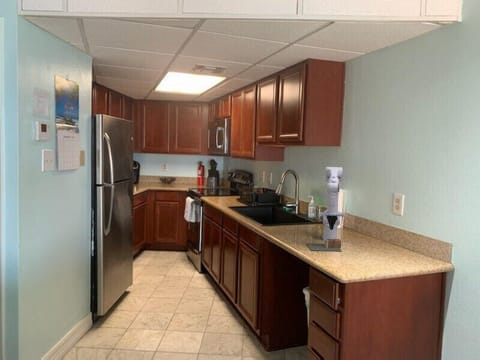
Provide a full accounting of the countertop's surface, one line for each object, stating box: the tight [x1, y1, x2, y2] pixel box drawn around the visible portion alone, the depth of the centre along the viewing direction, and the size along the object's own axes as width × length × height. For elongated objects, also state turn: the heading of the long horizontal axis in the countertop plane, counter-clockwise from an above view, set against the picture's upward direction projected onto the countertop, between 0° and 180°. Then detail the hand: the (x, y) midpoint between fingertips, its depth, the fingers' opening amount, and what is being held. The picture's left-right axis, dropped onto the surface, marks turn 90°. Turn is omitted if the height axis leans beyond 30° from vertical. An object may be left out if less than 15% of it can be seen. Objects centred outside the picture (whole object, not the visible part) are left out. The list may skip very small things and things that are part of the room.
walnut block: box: [324, 238, 342, 249], centre depth 205 cm, size 4×4×8 cm
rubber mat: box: [305, 242, 342, 253], centre depth 205 cm, size 14×16×1 cm
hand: (331, 229), depth 205 cm, fingers closed
